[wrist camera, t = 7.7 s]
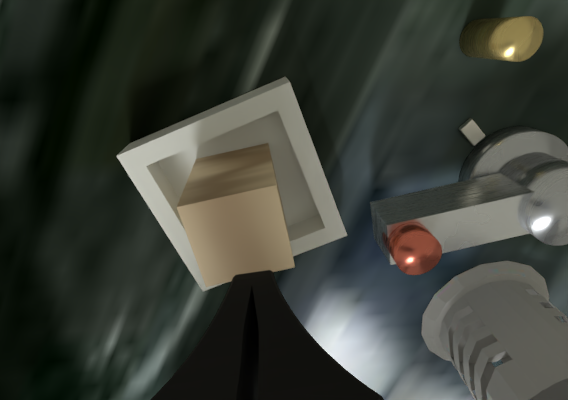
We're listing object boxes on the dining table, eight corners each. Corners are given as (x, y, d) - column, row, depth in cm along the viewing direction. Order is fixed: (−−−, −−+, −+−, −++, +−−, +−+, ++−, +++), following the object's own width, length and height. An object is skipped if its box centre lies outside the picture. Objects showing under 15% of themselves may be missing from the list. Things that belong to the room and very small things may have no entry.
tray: (206, 269, 23) (202, 291, 21) (129, 143, 20) (116, 155, 18) (338, 217, 23) (347, 235, 21) (285, 76, 19) (289, 81, 17)
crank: (565, 144, 20) (635, 169, 16) (556, 208, 22) (618, 243, 18) (366, 189, 20) (393, 224, 16) (373, 249, 22) (399, 293, 18)
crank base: (466, 231, 24) (500, 261, 21) (428, 39, 19) (465, 41, 16) (556, 197, 23) (604, 222, 20) (543, -10, 18) (605, -18, 15)
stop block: (268, 142, 20) (276, 185, 14) (283, 207, 21) (295, 267, 16) (196, 159, 20) (176, 207, 14) (216, 222, 21) (206, 286, 16)
